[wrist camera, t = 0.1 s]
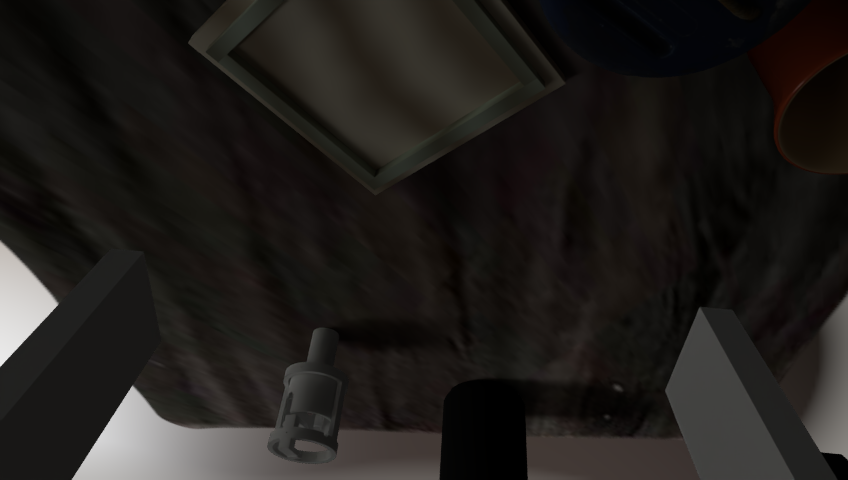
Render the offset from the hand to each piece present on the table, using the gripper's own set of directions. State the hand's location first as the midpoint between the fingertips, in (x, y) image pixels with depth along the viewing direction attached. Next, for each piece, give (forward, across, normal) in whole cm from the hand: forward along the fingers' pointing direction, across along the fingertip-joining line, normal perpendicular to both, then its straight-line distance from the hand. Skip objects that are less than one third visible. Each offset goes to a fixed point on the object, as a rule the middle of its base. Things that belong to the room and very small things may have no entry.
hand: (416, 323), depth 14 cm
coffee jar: (+46, +10, -49) cm, 68 cm away
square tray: (+30, -4, -2) cm, 30 cm away
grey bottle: (+42, -11, -38) cm, 57 cm away
